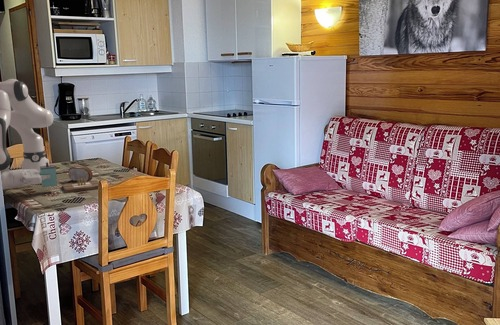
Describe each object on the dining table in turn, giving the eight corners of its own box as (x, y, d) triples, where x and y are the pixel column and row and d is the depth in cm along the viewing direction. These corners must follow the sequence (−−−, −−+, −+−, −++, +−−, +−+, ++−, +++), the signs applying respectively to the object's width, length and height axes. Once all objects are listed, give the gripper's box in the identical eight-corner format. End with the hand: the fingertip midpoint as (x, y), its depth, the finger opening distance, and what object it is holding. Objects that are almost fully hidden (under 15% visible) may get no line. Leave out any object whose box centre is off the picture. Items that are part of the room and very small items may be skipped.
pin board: (62, 187, 267) (61, 178, 266) (96, 182, 275) (96, 174, 274) (66, 192, 255) (65, 183, 254) (102, 188, 263) (101, 178, 262)
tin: (93, 181, 279) (92, 166, 277) (89, 183, 276) (88, 168, 274) (71, 179, 284) (70, 165, 283) (68, 181, 281) (66, 166, 280)
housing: (41, 185, 258) (39, 162, 256) (56, 183, 262) (53, 161, 259) (42, 187, 254) (40, 164, 252) (57, 185, 257) (55, 162, 255)
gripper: (20, 176, 241) (51, 172, 247) (17, 168, 259) (46, 165, 265) (21, 189, 242) (52, 185, 249) (18, 180, 260) (47, 176, 266)
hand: (49, 174), depth 257 cm, fingers closed on housing, 5 cm apart
